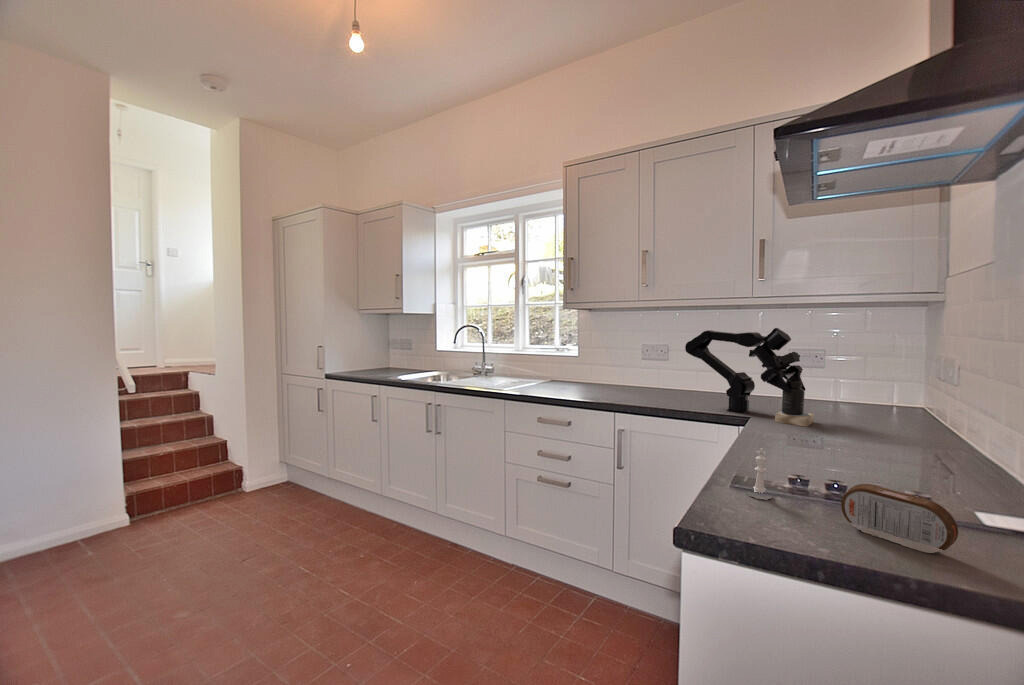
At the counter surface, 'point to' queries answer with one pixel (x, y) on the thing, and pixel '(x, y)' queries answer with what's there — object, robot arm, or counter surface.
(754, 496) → the counter surface
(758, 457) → the chess piece
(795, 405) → the supplement bottle
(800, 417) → the birch plinth
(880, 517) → the tin
